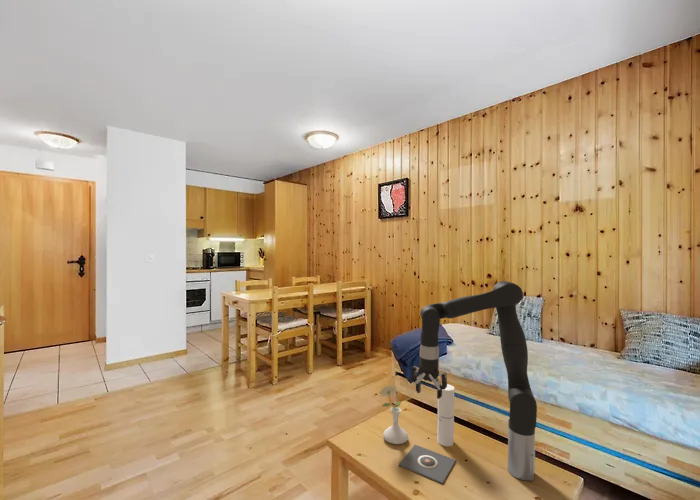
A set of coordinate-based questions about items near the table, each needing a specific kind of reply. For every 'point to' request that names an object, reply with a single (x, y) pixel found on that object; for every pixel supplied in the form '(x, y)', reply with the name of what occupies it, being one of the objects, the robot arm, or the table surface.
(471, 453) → the table surface
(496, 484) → the table surface
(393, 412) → the flower in vase
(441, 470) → the pad
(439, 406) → the cylindrical container
